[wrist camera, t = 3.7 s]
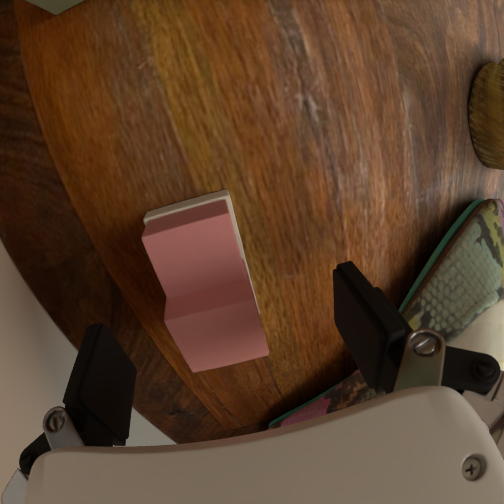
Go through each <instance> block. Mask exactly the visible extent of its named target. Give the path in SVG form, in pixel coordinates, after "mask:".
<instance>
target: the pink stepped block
mask: <svg viewBox="0 0 504 504" xmlns="http://www.w3.org/2000/svg"><path fill="white" fill-rule="evenodd" d="M143 221H144V223H145V226H146V227H145V230H144V232H143V234H142V237H141V239H142V242H143V244H144V247H145V249H146V252H147V254H148V256H149V259H150V261H151V263H152V266H153V268H154V270H155V272H156V275H157V277H158V279H159V281H160V284H161V286H162V288H163V290H164V292H165V294H166V305H165V314H164V323H165V325H166V327H167V329H168V330H169V332H170V334H171V336H172V338H173V339H174V341H175V343H176V345H177V347H178V348H179V350H180V352H181V353H182V355H183V357H184V359H185V360H186V362H187V364H188V365H189V367H190V369H191V370H192V372H199V371H204V370H209V369H214V368H218V367H223V366H227V365H231V364H236V363H240V362H244V361H248V360H252V359H256V358H259V357H263V356H267V355H269V350H268V346H267V342H266V338H265V335H264V331H263V327H262V323H261V319H260V315H259V309H258V305H257V301H256V297H255V293H254V289H253V285H252V281H251V277H250V273H249V270H248V266H247V262H246V258H245V254H244V250H243V246H242V242H241V238H240V234H239V230H238V226H237V222H236V218H235V214H234V210H233V206H232V202H231V198H230V194H229V191H228V189H225V190H222V191H218V192H214V193H210V194H207V195H203V196H199V197H196V198H192V199H189V200H185V201H182V202H178V203H175V204H171V205H168V206H165V207H161V208H158V209H155V210H152V211H149V212H147V213H146V215H145V217H144V219H143Z"/></svg>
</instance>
